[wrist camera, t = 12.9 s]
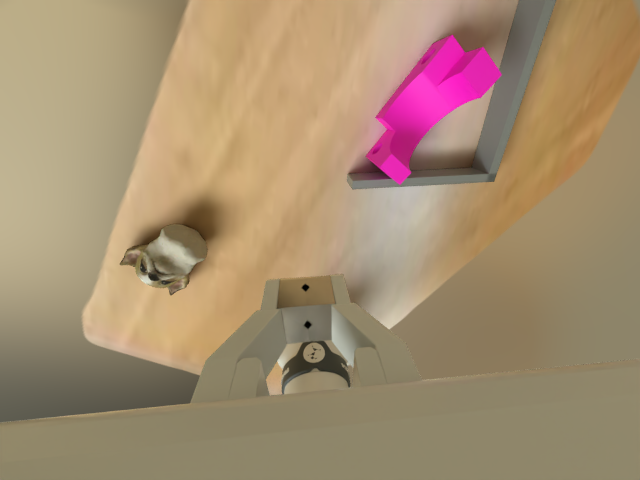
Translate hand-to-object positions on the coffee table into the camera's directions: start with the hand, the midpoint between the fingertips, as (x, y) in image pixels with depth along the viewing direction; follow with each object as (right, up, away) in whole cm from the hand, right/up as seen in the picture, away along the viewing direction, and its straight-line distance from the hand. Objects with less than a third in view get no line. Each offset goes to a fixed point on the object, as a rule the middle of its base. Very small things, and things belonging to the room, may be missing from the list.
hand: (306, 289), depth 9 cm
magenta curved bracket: (+12, +20, +24) cm, 34 cm away
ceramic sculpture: (-24, 0, +32) cm, 40 cm away
